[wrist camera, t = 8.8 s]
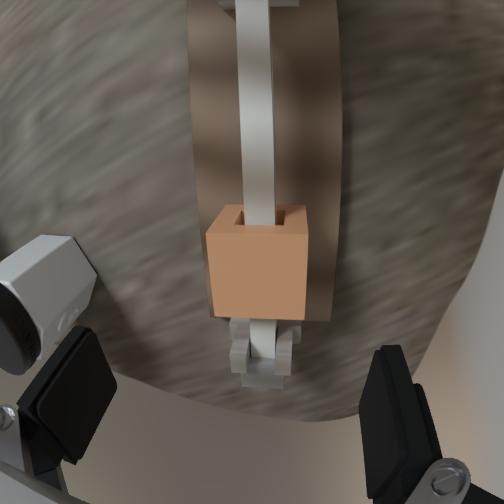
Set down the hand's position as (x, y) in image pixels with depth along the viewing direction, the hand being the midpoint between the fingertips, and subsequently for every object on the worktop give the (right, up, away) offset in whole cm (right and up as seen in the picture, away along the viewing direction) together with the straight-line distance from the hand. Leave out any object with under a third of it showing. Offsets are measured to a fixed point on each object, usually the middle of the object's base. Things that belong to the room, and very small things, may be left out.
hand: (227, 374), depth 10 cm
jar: (-18, +2, +19) cm, 27 cm away
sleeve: (+2, +5, +11) cm, 12 cm away
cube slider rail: (+2, +11, +12) cm, 16 cm away
